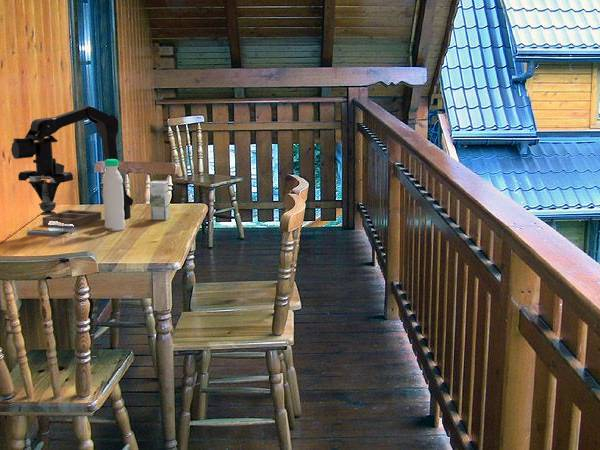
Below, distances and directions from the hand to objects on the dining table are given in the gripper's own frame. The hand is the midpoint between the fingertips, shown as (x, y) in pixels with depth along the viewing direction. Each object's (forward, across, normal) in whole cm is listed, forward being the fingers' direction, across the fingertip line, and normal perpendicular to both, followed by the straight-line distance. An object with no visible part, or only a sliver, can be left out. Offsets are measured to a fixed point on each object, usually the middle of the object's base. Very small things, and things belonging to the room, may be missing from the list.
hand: (47, 201), depth 288 cm
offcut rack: (+11, 0, -14) cm, 18 cm away
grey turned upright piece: (+5, 0, 0) cm, 5 cm away
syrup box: (+12, -25, -34) cm, 44 cm away
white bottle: (+12, -19, -12) cm, 25 cm away
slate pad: (+11, 0, 0) cm, 11 cm away
